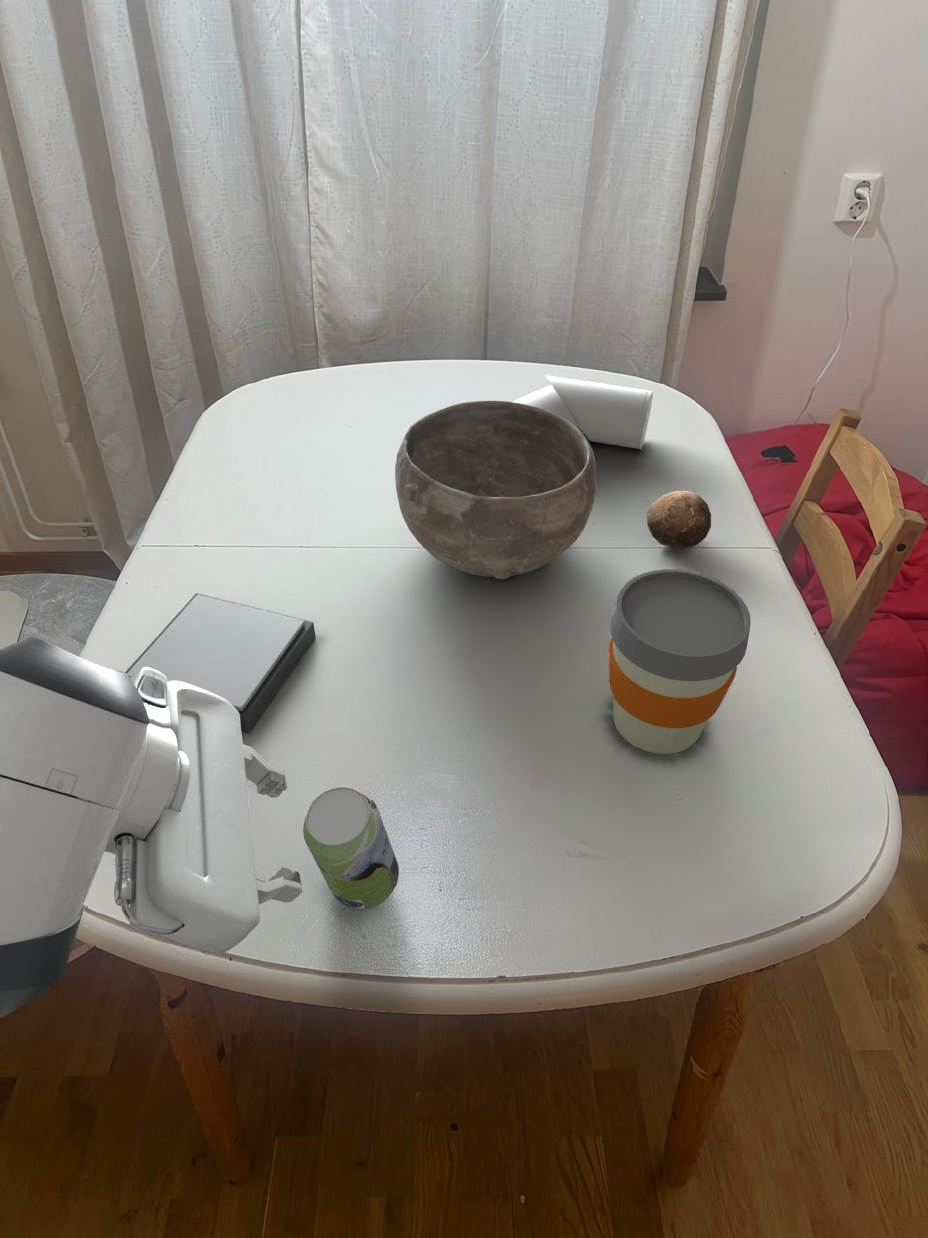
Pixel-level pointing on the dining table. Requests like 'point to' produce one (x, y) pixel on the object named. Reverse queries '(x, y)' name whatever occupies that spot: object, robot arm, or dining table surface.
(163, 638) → the kitchen scale
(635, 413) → the elbow connector
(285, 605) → the dining table surface
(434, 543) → the bowl
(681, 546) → the brown potato
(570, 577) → the dining table surface
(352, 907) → the beverage can
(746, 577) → the dining table surface
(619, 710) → the reusable coffee cup
